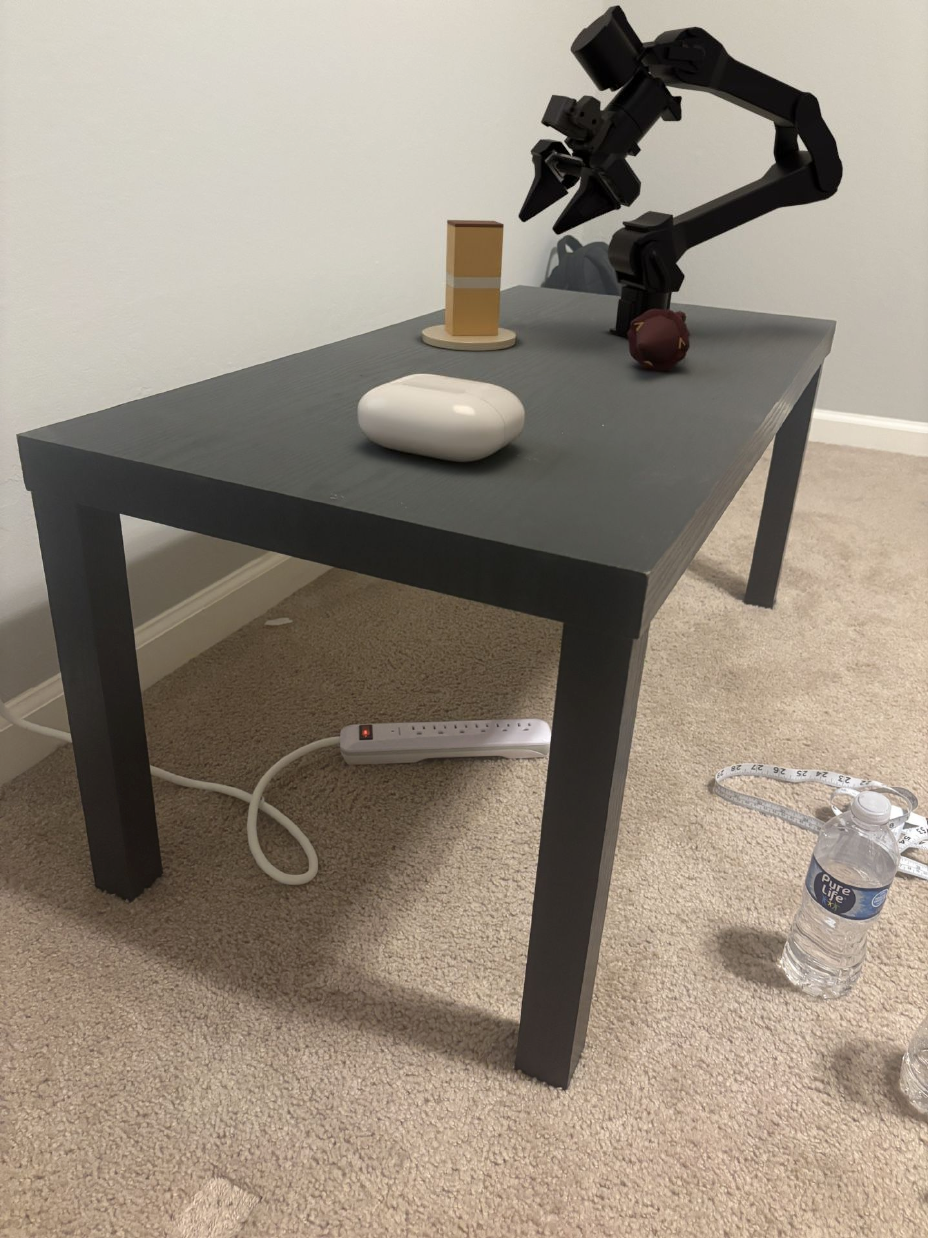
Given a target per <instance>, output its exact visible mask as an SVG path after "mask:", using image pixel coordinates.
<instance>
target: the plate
mask: <svg viewBox="0 0 928 1238" xmlns="http://www.w3.org/2000/svg"><path fill="white" fill-rule="evenodd" d="M421 340H422V342H423V343H425V344H427V345H429V346H432V347H436V348H440V349H447V350H452V351H453V350H454V351H468V352H469V351H472V352H475V351H476V352H478V351H479V352H480V351H481V352H483V351H497V350H503V349H509V348H510V347H513V346H515V344H516V343H517V342H516V341H517V334H516V333H515V332H514V331H512V330H509V329H507V328H503V327H498V335H478V336H452V335H451V334H450V333H449V332H448V331H447V330H446V329H445V324H439V325H438V324H437V325H433V326H429V327H426V328H424V329H423V330H422V332H421Z"/></svg>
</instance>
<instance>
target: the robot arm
mask: <svg viewBox="0 0 928 1238" xmlns="http://www.w3.org/2000/svg"><path fill="white" fill-rule="evenodd" d="M570 52H571V54H572V55H573V56H574V58H575V59H576V61H577V62H578V63H579V65H580V66H581V67H582V68H583V70H584V72H585V73H586V75H587V76H588V77H589V79H590V80H591V81H592V83H593V84H594V85H595V87H596V88H597V90H598V91H599V92H604V91H607V90H610V92H612V93H614V92H617V91H618V92H617V93H616V94H615V95H614V97H612V99H611V100H610V101H609V103H608V104H607V105H606V106H605V107H604V108H603V109H601V108H602V107H601V106H602V102H601V100H599V99H597V98H596V97H594V96H592V95H586V94H585V95H583V96H581V98H579V99H578V100H577V99H576V98H573V97H569V96H566V95H559V94H552V95H551V97H550V99H549V101H548V103H547V106H546V109H545V111H544V114H543V115H542V118H541V121H540V123H541V125H543V126H545V127H546V128H551V129H554V130H555V131H556V132H558V133H560V134H562V135H563V136H565V137H566V138H565V139H564V140H563V142H564V143H563V142H562V141H560V140H555V139H550V138H545V139H544V138H542V139H541V138H540V139H538V141H537V143H535V145H534V146H533V147H532V148H531V149H530V155H531V162H532V164H533V168H534V177H533V180H532V183H531V185H530V188H529V190H528V192H527V194H526V197H525V199H524V201H523V204H522V206H521V208H520V210H519V212H518V216H517V217H518V219H519V221H521V223H526V222H528V221H530V220H531V219H532V218H535V216H537V215H539V214H540V213H542V212H543V211H545V210H546V209H548V208H549V207H551V206H552V205H554V204H555V203H556V202H558V201H560V200H561V199H563V198H564V197H566V196H567V195H568V194H569V193H570V192H569V191H568V190H570V189H572V188H573V187H575V186H576V185H577V184H578V182H579V186H578V188H577V190H576V192H575V193H574V194H573V196H572V197H571V199H570V200H569V202H567V204H566V205H565V207H564V209H563V210H562V212H561V213H560V215H559V216H558V217H557V219H556V220H555V222H554V224H553V226H552V227H551V231H552V232H553V233H554V234H555V235H557V236H559V235H562V234H564V233H566V232H568V231H570V230H573V229H575V228H577V227H579V226H581V225H584V224H585V223H588V222H590V221H591V220H594V219H597V218H599V217H602V216H603V215H606V214H609V213H611V212H613V211H619V210H620V209H621V208H622V206H624V207H627V208H630V207H631V206H632V205H633V203H634V202H635V201H636V200H637V199H638V198H639V197H640V195H641V188H642V181H641V180H640V178H639V177H638V176H637V174H636V172H635V171H634V169H633V168H632V166H631V165H630V164H629V162H628V161H627V159H626V158H627V157H628V156H630V157H635V158H636V157H637V156H638V154H640V152H641V151H642V149H641V147H640V146H639V143H640V142H641V141H642V140H643V138H644V137H645V136H646V135H647V134H648V132H649V131H650V130H652V128H653V127H654V126H655V124H656V123H658V122H657V121H659V119H662V121H663V122H680V121H682V118H683V116H682V115H683V114H682V112H683V110H682V100H683V96H681V95H673V94H672V93H671V91H670V90H669V88H674V89H679V90H688V91H695V92H702V93H708V94H710V95H713V96H715V97H717V98H719V99H722V100H724V101H726V102H728V103H731V104H733V105H735V106H737V107H740V108H741V109H744V110H746V111H748V112H751V113H753V114H755V115H757V116H760V117H762V118H764V119H767V120H769V121H770V122H772V123H773V126H774V130H775V133H774V140H773V141H774V143H773V153H772V154H773V158H774V163H773V164H772V165H771V166H770V167H769V168H768V169H767V171H766V172H765V173H764V175H763V176H762V177H760V178H759V179H757V180H754V181H752V182H749V183H748V184H745V185H743V186H741V187H739V188H736V189H734V190H732V191H729V192H728V193H725V194H723V195H721V196H719V197H716V198H714V199H712V200H710V201H707V202H705V203H703V204H701V205H698V206H696V207H694V208H691V209H689V210H688V211H685V212H683V213H680V214H678V215H676V216H674V214H671V213H665V212H659V211H653V210H649V211H646V212H644V213H643V214H641V215H640V216H638V217H637V218H635V219H632V220H629V221H628V220H626V221H625V220H623V221H622V225H623V227H621V228H619V229H618V230H616V231H615V232H614V233H613V234H612V235H611V240H610V241H609V243H608V248H607V257H608V261H609V264H610V265H611V267H612V268H613V269H614V273H615V278H616V282H617V284H620V285H621V284H623V285H624V286H621V291H620V298H618V301H617V312H616V320H615V327H610V328H609V330H608V333H611V334H616V335H619V336H622V337H626V338H628V335H627V334H628V331H629V330H630V323H631V321H633V320H634V319H635V318H637V317H639V316H641V315H642V314H643V313H645V312H646V311H648V310H650V309H662V310H665V309H669V310H671V302H672V296H673V295H672V294H673V293H679V292H680V290H681V287H682V286H683V283H684V281H685V278H686V276H685V273H684V272H683V271H682V269H681V268H680V267H679V265H678V262H679V261H680V260H681V258H682V257H683V256H685V253H686V252H688V251H689V250H690V249H692V248H695V247H696V246H698V245H700V244H703V243H705V242H707V241H710V240H712V239H714V238H716V237H718V236H720V235H723V234H725V233H727V232H729V231H731V230H734V229H736V228H738V227H740V226H742V225H745V224H747V223H750V222H752V221H754V220H756V219H758V218H760V217H763V216H764V215H766V214H769V213H771V212H773V211H775V210H776V211H777V210H778V209H783V208H789V207H796V206H805V205H809V204H814V203H818V202H822V201H826V200H828V199H830V198H831V197H833V196H834V195H836V194H837V192H838V190H839V186H840V185H841V182H842V179H843V174H844V167H843V166H844V165H843V162H842V160H841V157H840V154H839V150H838V144H837V141H836V138H835V137H834V135H833V133H832V132H831V130H830V128H829V126H828V124H827V123H826V121H825V120H824V118H823V116H822V111H821V106H820V102H819V99H818V97H816V96H815V95H814V94H813V93H811V92H810V91H802V90H800V89H798V88H796V87H794V86H792V85H790V84H788V83H786V82H783V81H781V80H779V79H777V78H775V77H773V76H771V75H768V74H766V73H764V72H763V71H760V70H758V69H756V68H754V67H752V66H749V65H747V64H746V63H744V62H741V61H739V60H737V59H735V57H733V56H731V55H730V53H729V52H728V51H727V49H726V47H725V46H724V44H723V43H722V42H720V40H718V39H717V38H716V37H714V36H713V35H711V33H710V32H708V31H707V30H706V29H704V28H702V27H699V26H690V27H682V28H678V29H670V30H665V31H663V32H662V33H660V34H659V35H657V36H656V38H655V39H654V40H651V41H645V42H643V41H642V40H641V39H640V37H639V35H638V34H637V32H635V30H634V28H633V27H632V25H631V24H630V22H629V20H628V18H627V15H626V13H625V12H624V10H623V9H622V7H621V5H620V4H617V5H613V6H612V5H611V6H609V7H608V8H607V10H606V11H605V12H604V13H603V14H601V15H600V16H598V17H597V18H596V19H595V20H593V21H592V22H591V23H590V24H589V25H588V26H587V27H584V28H583V29H582V30H581V31H580V32H579V33H578V34H577V35H576V37H575V39H574V40H573V42H572V43H571V46H570ZM798 137H799V138H800V141H801V142H802V144H803V145H804V147H805V149H806V150H800V146H799V142H798ZM564 144H565V145H566V146H567V147H566V146H565V145H564ZM568 149H570V150H571V151H572V153H570V152H569V150H568Z"/></svg>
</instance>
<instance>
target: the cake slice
mask: <svg viewBox="0 0 928 1238" xmlns="http://www.w3.org/2000/svg"><path fill="white" fill-rule="evenodd" d="M504 227H505V225H504V223H501V222H499V221H496V220H478V219H477V220H474V219H473V220H472V219H471V220H469V219H446V253H445V254H446V255H445V256H446V257H445V258H446V259H445V302H444V303H445V304H444V305H445V306H444V325H445V329H446V330H447V331H448V332H449V333H450V334H451V335H452V336H478V335H498V327H499V326H500V325H499V322H500V307H501V306H500V304H501V287H502V286H501V284H502V265H503V248H504V246H503V244H504ZM499 328H500V327H499Z"/></svg>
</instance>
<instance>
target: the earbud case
mask: <svg viewBox="0 0 928 1238" xmlns="http://www.w3.org/2000/svg"><path fill="white" fill-rule="evenodd" d="M356 407H357V409H356V416H357V417H356V419H357V424H358V428H359V429H360V431H361V432H362V434H363V435H364V436H365V437H366V438H367V439H368V440H370V441H371V442H372V443H374V444H376V445H378V446H381V447H383V448H386V449H389V450H394V451H398V452H403V453H408V454H413V455H417V456H423V457H428V458H433V459H437V460H444V461H448V462H449V461H450V462H455V463H469V462H475V461H480V460H483V459H485V458H487V457H490V456H492V455H493V454H495V453H497V452H498V451H500V450H502V449H504V448H505V447H506V446H508V445H509V444H511V443H512V442H515V440H517V438H519V437H520V435H521V434H522V432H523V431H524V428H525V423H526V410H525V406H524V404H523V403H522V401H521V400H520V399H519V397H518V396H517V395H516V394H515V393H513V392H512V391H510V390H508V389H506V388H504V387H503V386H500V385H497V384H493V383H489V382H483V381H479V380H473V379H472V380H471V379H466V378H459V377H453V376H446V375H439V374H433V373H413V374H409V375H404V376H402V377H399V378H396V379H393V380H390V381H388V382H386V383H383V384H380V385H377V386H376V387H373V388H372V389H370V390H369V391H367V392H366V393H365V394H364V395H363V396H362V397H361V398H360V399H359V401H358V404H357V406H356Z"/></svg>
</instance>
